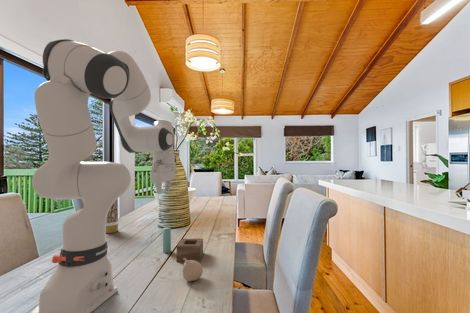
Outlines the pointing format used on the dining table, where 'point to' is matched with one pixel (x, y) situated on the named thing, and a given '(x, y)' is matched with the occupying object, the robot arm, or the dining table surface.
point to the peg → (167, 240)
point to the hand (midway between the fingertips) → (164, 192)
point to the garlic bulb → (192, 270)
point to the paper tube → (112, 218)
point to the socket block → (190, 250)
